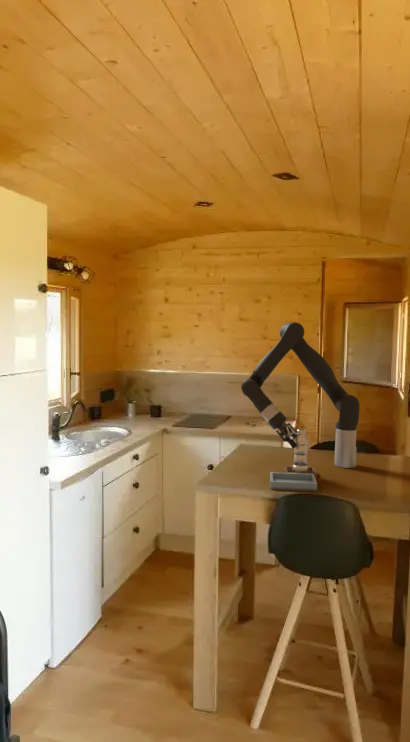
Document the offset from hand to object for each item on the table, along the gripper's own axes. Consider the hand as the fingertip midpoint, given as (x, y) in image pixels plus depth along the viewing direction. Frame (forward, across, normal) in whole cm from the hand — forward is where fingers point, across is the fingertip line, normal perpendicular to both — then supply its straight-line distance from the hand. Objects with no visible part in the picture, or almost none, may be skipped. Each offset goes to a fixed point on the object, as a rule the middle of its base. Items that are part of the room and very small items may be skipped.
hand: (298, 445), depth 241 cm
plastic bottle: (+10, 0, +9) cm, 13 cm away
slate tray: (+11, -16, +8) cm, 20 cm away
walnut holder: (+10, 0, +8) cm, 13 cm away
